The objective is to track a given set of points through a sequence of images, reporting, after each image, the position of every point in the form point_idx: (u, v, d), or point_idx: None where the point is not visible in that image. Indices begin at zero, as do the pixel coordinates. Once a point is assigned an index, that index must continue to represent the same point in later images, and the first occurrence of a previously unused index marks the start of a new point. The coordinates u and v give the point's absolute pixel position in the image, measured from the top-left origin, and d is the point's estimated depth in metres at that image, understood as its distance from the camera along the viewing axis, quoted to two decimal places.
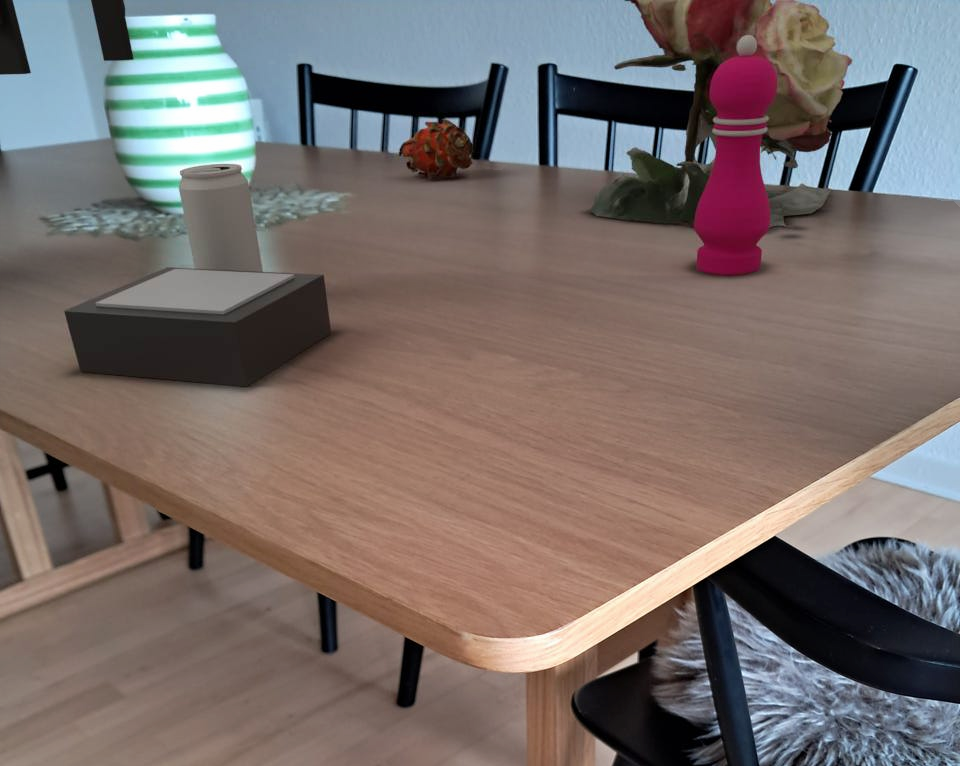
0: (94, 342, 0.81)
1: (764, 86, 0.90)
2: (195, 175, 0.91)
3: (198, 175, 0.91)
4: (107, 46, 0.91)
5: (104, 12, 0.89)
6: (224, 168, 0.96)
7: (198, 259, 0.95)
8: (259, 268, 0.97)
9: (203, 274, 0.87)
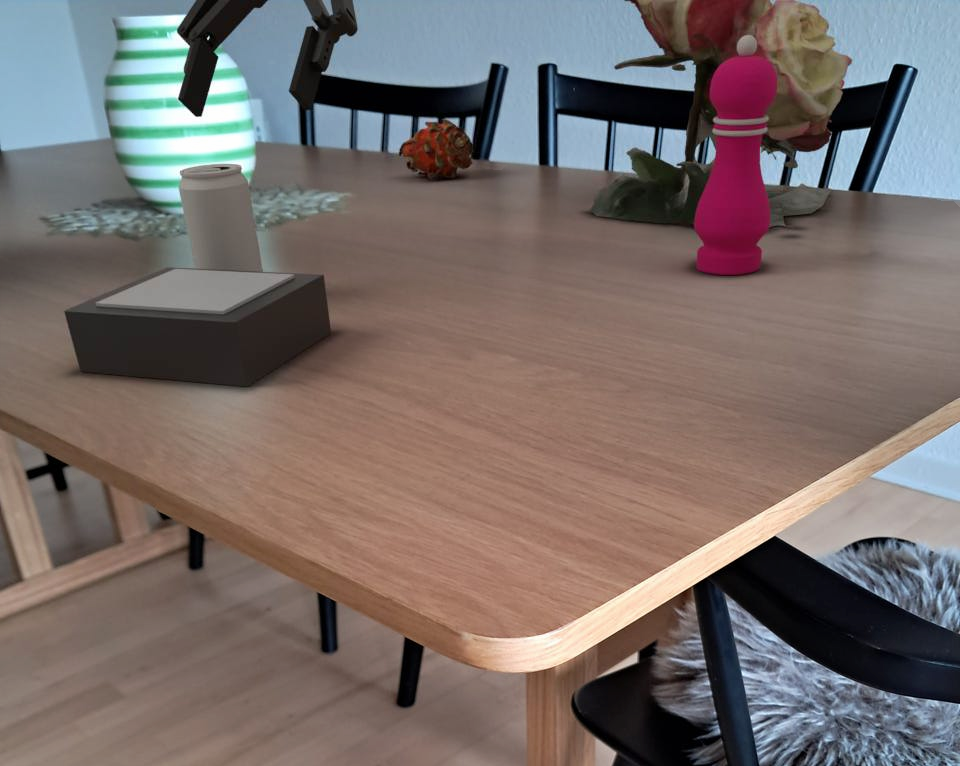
0: (94, 342, 0.81)
1: (764, 86, 0.90)
2: (195, 175, 0.91)
3: (198, 175, 0.91)
4: (191, 93, 0.99)
5: (201, 71, 1.00)
6: (224, 168, 0.96)
7: (198, 259, 0.95)
8: (259, 268, 0.97)
9: (203, 274, 0.87)
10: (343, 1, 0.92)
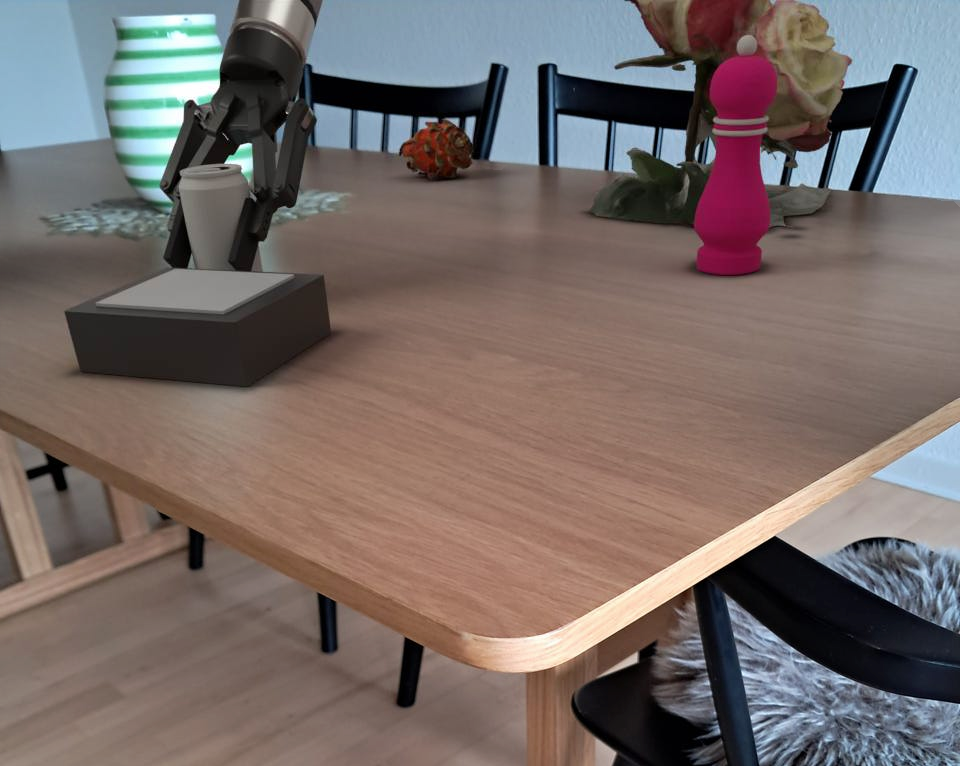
0: (94, 342, 0.81)
1: (764, 86, 0.90)
2: (195, 175, 0.91)
3: (198, 175, 0.91)
4: (177, 252, 0.95)
5: (186, 230, 0.96)
6: (224, 168, 0.96)
7: (198, 259, 0.95)
8: (259, 268, 0.97)
9: (203, 274, 0.87)
10: (287, 177, 0.93)
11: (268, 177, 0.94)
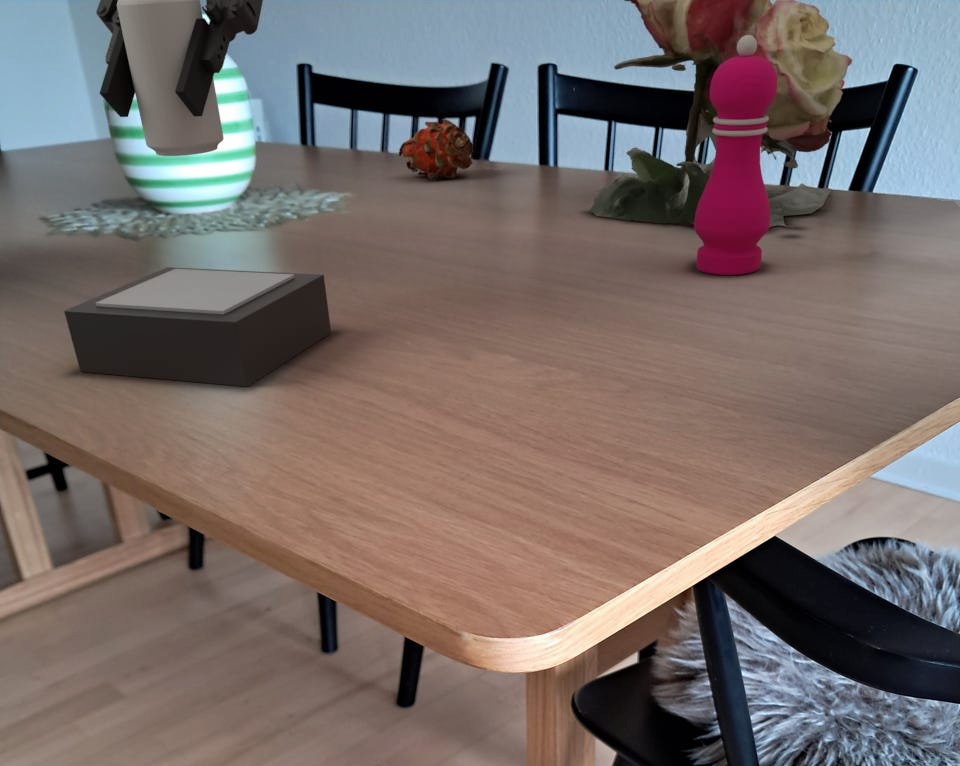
0: (94, 342, 0.81)
1: (764, 86, 0.90)
2: None
3: None
4: (116, 87, 0.81)
5: (128, 63, 0.81)
6: None
7: (141, 95, 0.81)
8: (215, 110, 0.83)
9: (203, 274, 0.87)
10: None
11: None
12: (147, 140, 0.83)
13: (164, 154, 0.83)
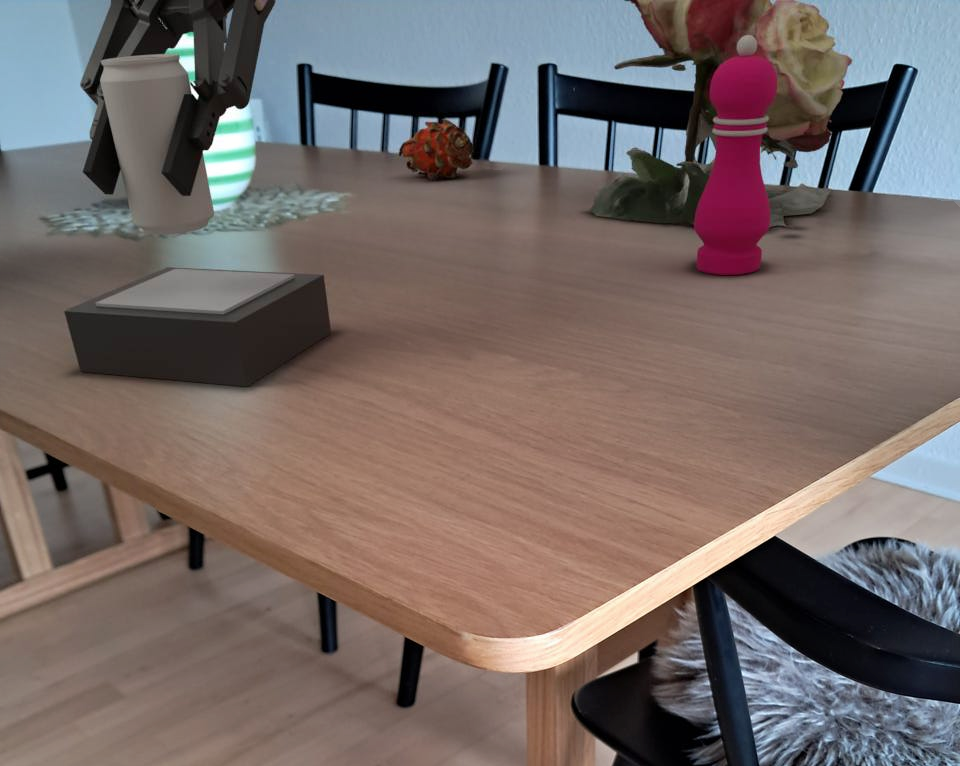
0: (94, 342, 0.81)
1: (764, 86, 0.90)
2: (119, 62, 0.72)
3: (122, 62, 0.72)
4: (100, 165, 0.76)
5: None
6: None
7: (126, 173, 0.76)
8: (205, 186, 0.79)
9: (203, 274, 0.87)
10: (236, 68, 0.74)
11: (213, 69, 0.75)
12: (133, 218, 0.79)
13: (151, 233, 0.79)
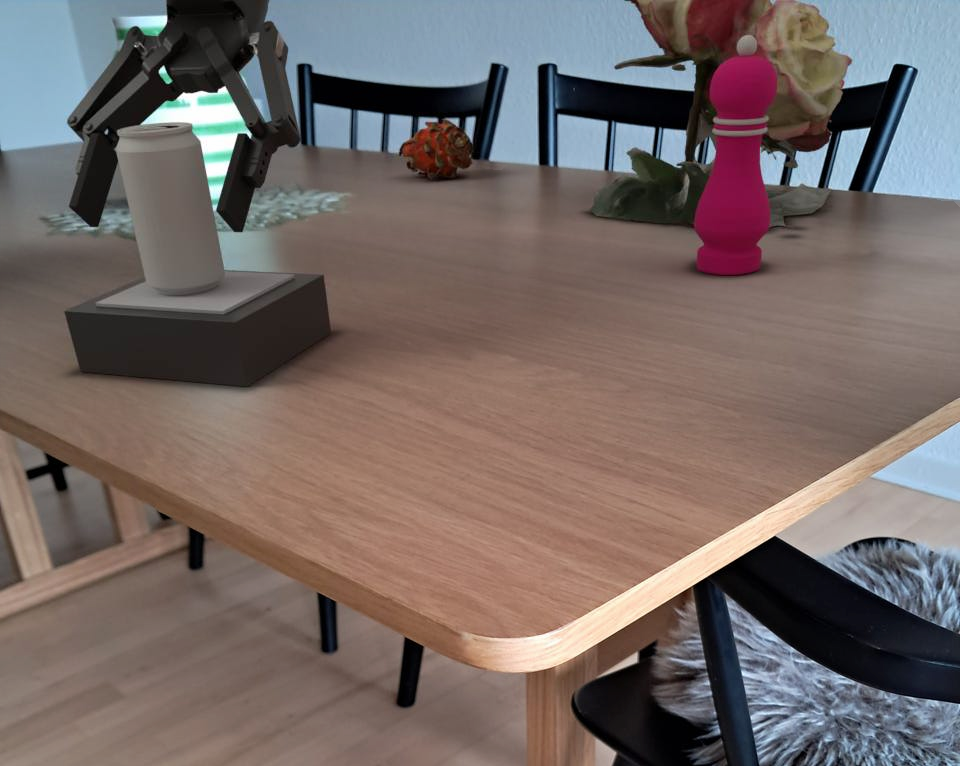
0: (94, 342, 0.81)
1: (764, 86, 0.90)
2: (134, 134, 0.75)
3: (138, 134, 0.74)
4: (86, 199, 0.80)
5: (98, 174, 0.81)
6: (173, 128, 0.79)
7: (141, 238, 0.79)
8: (216, 249, 0.81)
9: None
10: (284, 107, 0.76)
11: (257, 111, 0.77)
12: (147, 279, 0.81)
13: (164, 293, 0.81)
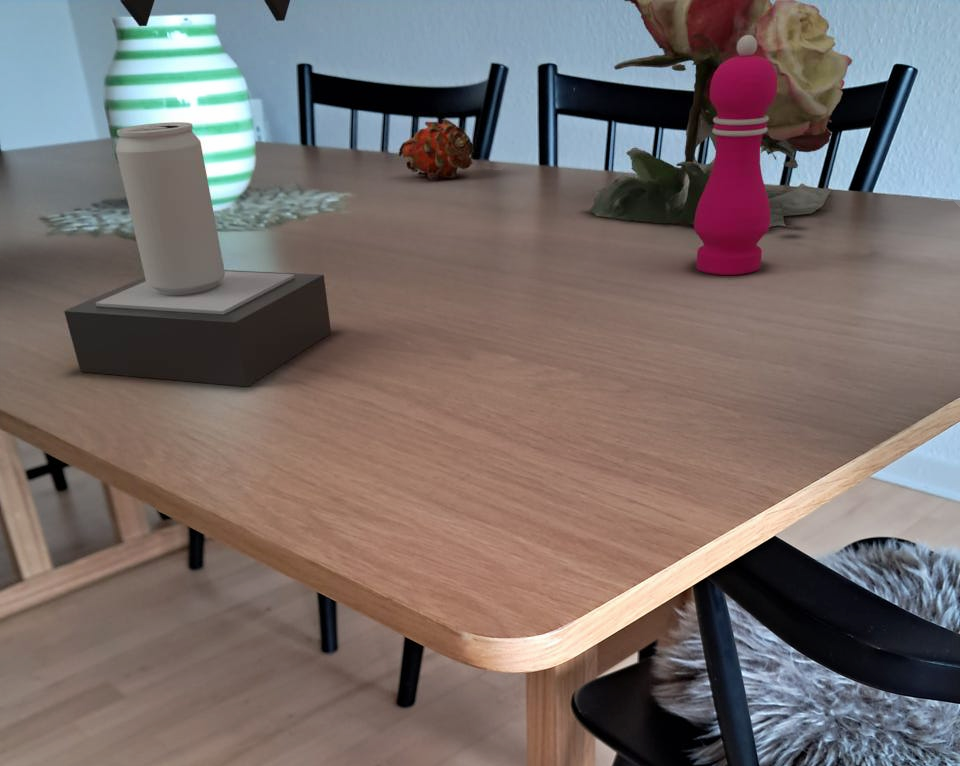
0: (94, 342, 0.81)
1: (764, 86, 0.90)
2: (134, 134, 0.75)
3: (138, 134, 0.74)
4: None
5: None
6: (173, 128, 0.79)
7: (141, 238, 0.79)
8: (216, 249, 0.81)
9: None
10: None
11: None
12: (147, 279, 0.81)
13: (164, 293, 0.81)
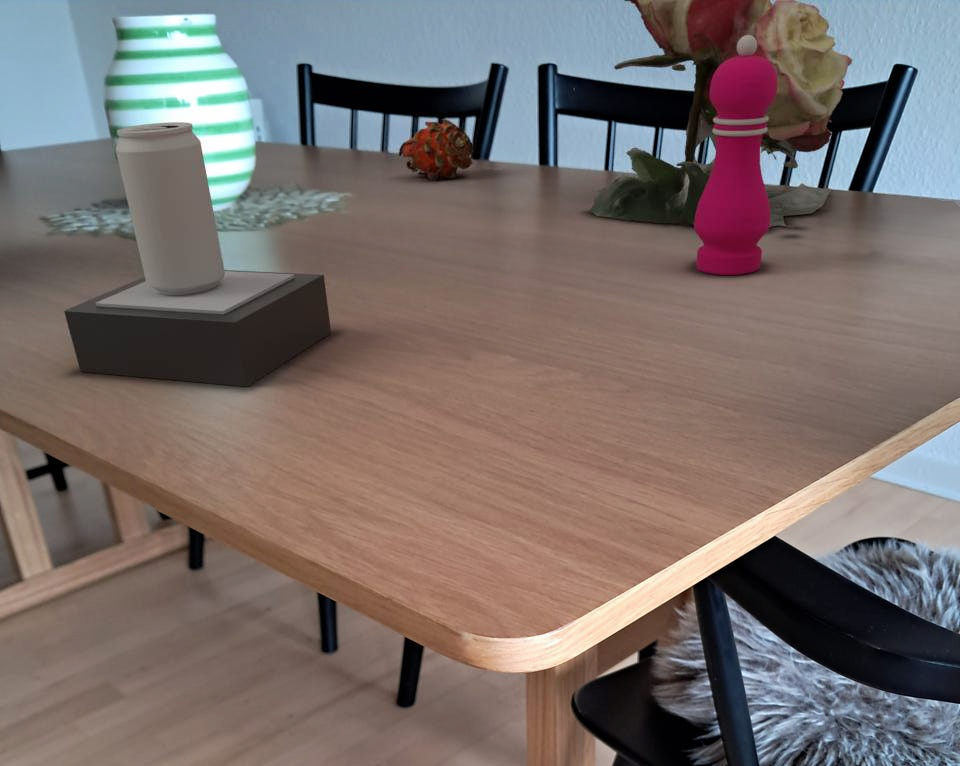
0: (94, 342, 0.81)
1: (764, 86, 0.90)
2: (134, 134, 0.75)
3: (138, 134, 0.74)
4: None
5: None
6: (173, 128, 0.79)
7: (141, 238, 0.79)
8: (216, 249, 0.81)
9: None
10: None
11: None
12: (147, 279, 0.81)
13: (164, 293, 0.81)
